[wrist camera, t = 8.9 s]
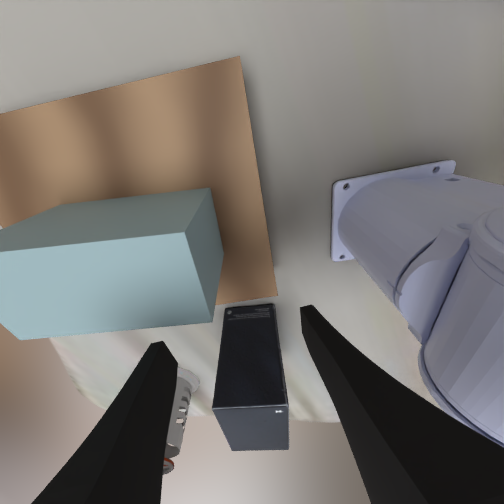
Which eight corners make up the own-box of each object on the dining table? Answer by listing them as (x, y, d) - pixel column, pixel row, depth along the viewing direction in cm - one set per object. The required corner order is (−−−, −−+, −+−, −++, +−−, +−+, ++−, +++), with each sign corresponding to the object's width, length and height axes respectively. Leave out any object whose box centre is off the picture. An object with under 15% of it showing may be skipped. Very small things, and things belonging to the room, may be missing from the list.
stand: (241, 74, 13) (239, 55, 10) (272, 268, 22) (277, 295, 18) (-6, 132, 15) (-83, 134, 11) (113, 294, 23) (90, 324, 19)
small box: (220, 307, 24) (206, 411, 16) (275, 302, 24) (292, 404, 15) (234, 357, 30) (229, 455, 21) (278, 353, 30) (292, 451, 21)
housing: (210, 187, 13) (184, 232, 8) (223, 253, 16) (212, 322, 10) (42, 206, 13) (-101, 263, 8) (83, 267, 16) (-3, 342, 10)
